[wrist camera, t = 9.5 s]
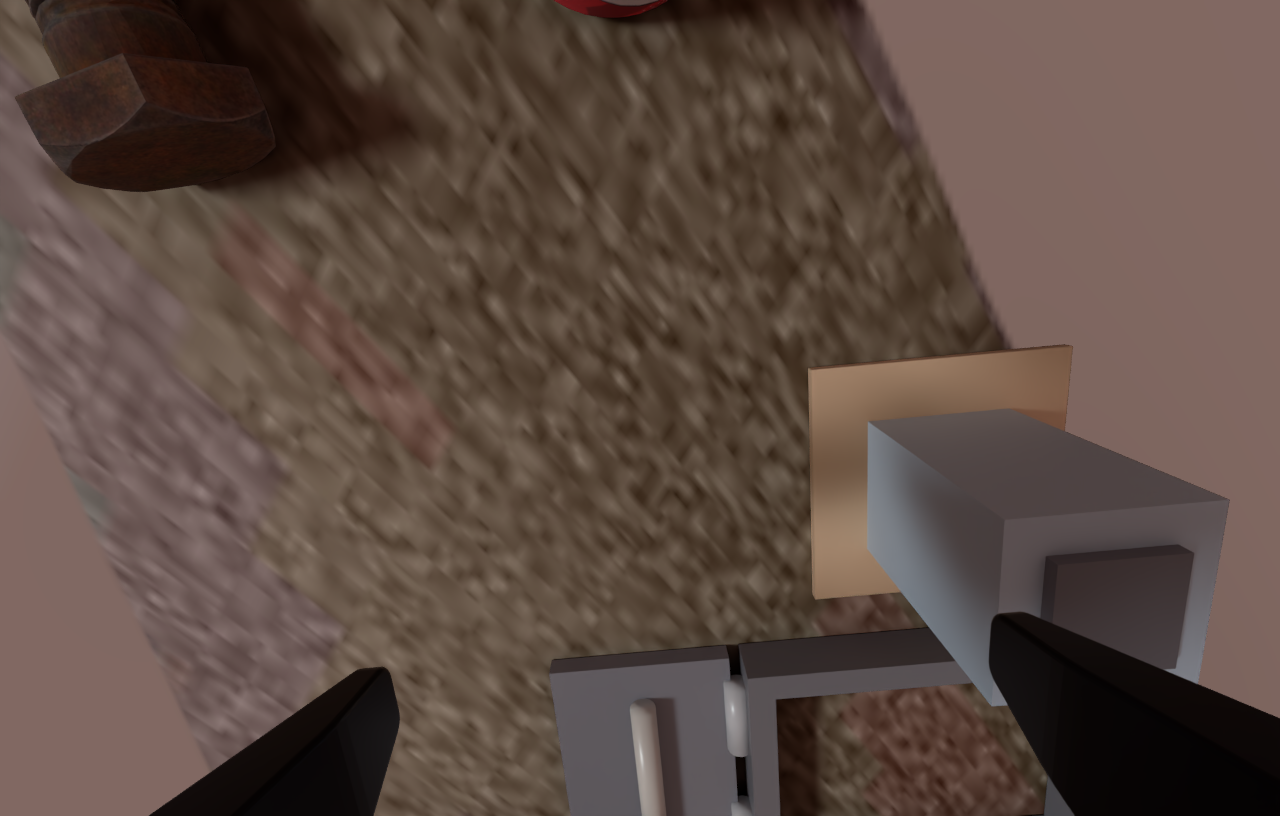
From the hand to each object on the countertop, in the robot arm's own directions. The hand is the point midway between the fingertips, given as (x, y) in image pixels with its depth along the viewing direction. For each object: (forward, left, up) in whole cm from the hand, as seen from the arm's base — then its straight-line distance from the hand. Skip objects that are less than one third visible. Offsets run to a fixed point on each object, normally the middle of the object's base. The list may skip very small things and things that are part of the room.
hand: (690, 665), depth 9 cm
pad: (-3, -10, -13) cm, 17 cm away
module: (-3, -10, -13) cm, 16 cm away
